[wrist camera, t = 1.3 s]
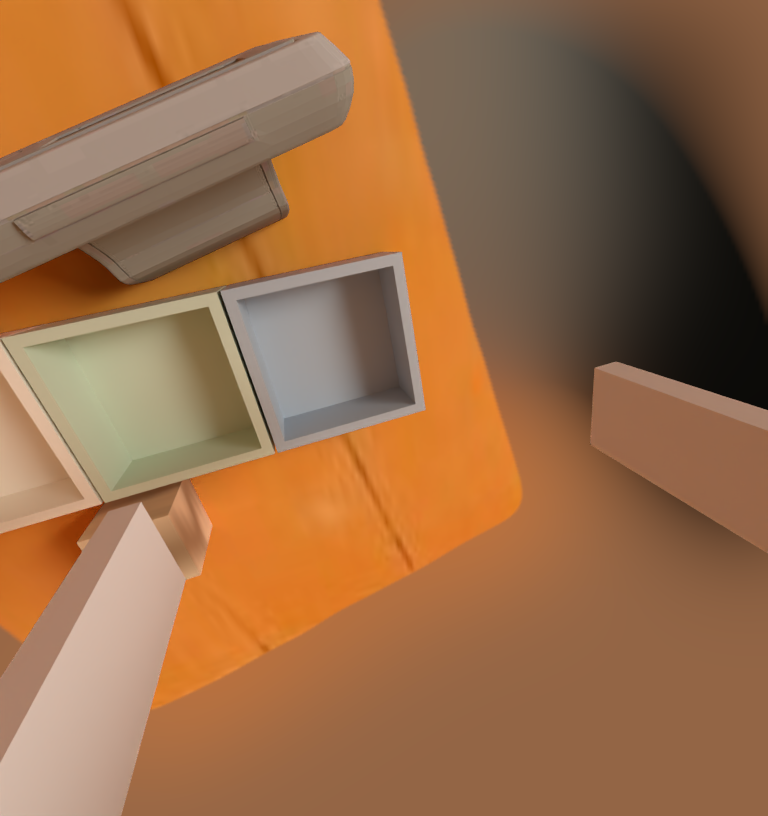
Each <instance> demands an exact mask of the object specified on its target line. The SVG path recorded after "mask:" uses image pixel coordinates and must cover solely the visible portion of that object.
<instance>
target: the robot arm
mask: <svg viewBox="0 0 768 816" xmlns="http://www.w3.org/2000/svg"><path fill="white" fill-rule="evenodd" d="M593 391H594V392H593V406H592V425H591V440H590V445H592V446H593V447H595V448H597V449H598V450H600V451H601V452H603V453H605V454H606V455H608V456H610V457H611V458H613V459H615V460H616V461H618V462H619V463H621V464H623V465H624V466H626V467H628V468H629V469H631V470H633V471H634V472H636V473H637V474H639V475H641V476H643V477H644V478H646V479H647V480H649V481H650V482H652V483H654V484H656V485H657V486H659V487H661V488H662V489H664V490H665V491H667V492H669V493H670V494H672V495H674V496H675V497H677V498H678V499H680V500H682V501H683V502H685V503H686V504H688V505H690V506H691V507H693V508H695V509H696V510H698V511H700V512H701V513H703V514H705V515H706V516H708V517H710V518H711V519H713V520H714V521H716V522H717V523H719V524H721V525H723V526H724V527H726V528H727V529H729V530H731V531H732V532H734V533H736V534H737V535H739V536H740V537H742V538H744V539H745V540H747V541H749V542H750V543H752V544H753V545H755V546H757V547H758V548H760V549H762V550H763V551H765V552H767V553H768V410H765V409H762V408H758V407H755V406H752V405H749V404H746V403H743V402H740V401H737V400H734V399H731V398H727V397H724V396H721V395H718V394H715V393H712V392H709V391H705V390H702V389H699V388H696V387H693V386H690V385H687V384H684V383H681V382H678V381H674V380H671V379H668V378H665V377H662V376H659V375H656V374H653V373H650V372H647V371H643V370H640V369H637V368H634V367H631V366H628V365H625V364H622V363H618V362H613V363H610V364H607V365H603V366H600V367H597V368H595V372H594V390H593ZM185 580H186V578H185V577H184V575H183V573H182V571H181V570H180V568H179V566H178V565H177V563H176V561H175V559H174V558H173V556H172V554H171V552H170V551H169V549H168V547H167V546H166V544H165V542H164V540H163V539H162V537H161V535H160V533H159V532H158V530H157V528H156V527H155V525H154V523H153V521H152V520H151V518H150V516H149V514H148V513H147V511H146V509H145V508H144V506H143V504H142V502H138V503H135V504H132V505H128V506H125V507H121V508H118V509H115V510H111V511H108V512H107V514H106V516H105V517H104V519H103V520H102V522H101V523H100V525H99V526H98V528H97V529H96V531H95V533H94V534H93V536H92V537H91V539H90V540H89V542H88V543H87V545H86V546H85V548H84V550H83V551H82V553H81V554H80V556H79V557H78V559H77V560H76V562H75V563H74V565H73V567H72V568H71V570H70V571H69V573H68V574H67V576H66V577H65V579H64V581H63V582H62V584H61V585H60V587H59V588H58V590H57V591H56V593H55V594H54V596H53V598H52V599H51V601H50V602H49V604H48V605H47V607H46V608H45V610H44V611H43V613H42V615H41V616H40V618H39V619H38V621H37V622H36V624H35V625H34V627H33V628H32V630H31V632H30V633H29V635H28V636H27V638H26V639H25V641H24V642H23V644H22V646H21V647H20V649H19V650H18V652H17V654H16V655H15V656H14V658H13V659H12V661H11V663H10V664H9V666H8V667H7V669H6V670H5V672H4V673H3V675H2V676H1V678H0V816H121V814H122V810H123V806H124V802H125V799H126V795H127V792H128V788H129V784H130V781H131V777H132V773H133V769H134V766H135V762H136V758H137V755H138V751H139V748H140V744H141V741H142V737H143V733H144V730H145V726H146V722H147V719H148V715H149V712H150V708H151V704H152V701H153V697H154V693H155V690H156V686H157V682H158V679H159V675H160V672H161V668H162V664H163V661H164V657H165V653H166V650H167V646H168V642H169V639H170V635H171V631H172V628H173V624H174V621H175V617H176V613H177V610H178V606H179V602H180V599H181V595H182V591H183V588H184V584H185Z"/></svg>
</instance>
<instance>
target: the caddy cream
mask: <svg viewBox="0 0 768 816" xmlns="http://www.w3.org/2000/svg"><path fill="white" fill-rule="evenodd" d="M43 325H45V324H43ZM39 326H42V325H38V326H34V327H29V328H24V329H20V330H15V331H10V332H6V333H1V334H0V533H4V532H7V531H11V530H14V529H18V528H21V527H25V526H28V525H31V524H35V523H38V522H42V521H45V520H49V519H52V518H55V517H59V516H62V515H66V514H69V513H73V512H76V511H80V510H83V509H86V508H90V507H93V506H97V505H100V504H102V502H103V499H102V497H101V496H100V494H99V493H98V491H97V490H96V488H95V486H94V485H93V483H92V482H91V480H90V478H89V477H88V475H87V474H86V472H85V471H84V469H83V467H82V466H81V464H80V463H79V461H78V459H77V458H76V456H75V455H74V453H73V452H72V450H71V448H70V447H69V445H68V444H67V442H66V440H65V439H64V437H63V436H62V434H61V433H60V431H59V429H58V428H57V426H56V425H55V423H54V421H53V420H52V418H51V417H50V415H49V414H48V412H47V410H46V409H45V407H44V406H43V404H42V402H41V401H40V399H39V398H38V396H37V395H36V393H35V391H34V390H33V388H32V387H31V385H30V384H29V382H28V380H27V379H26V377H25V376H24V374H23V372H22V371H21V369H20V368H19V366H18V365H17V363H16V361H15V360H14V358H13V357H12V355H11V353H10V352H9V350H8V349H7V347H6V346H5V344H4V342H3V341H2V339H1V338H4V337H7V336H10V335H13V334H17V333H20V332H23V331H26V330H29V329H32V328H36V327H39Z"/></svg>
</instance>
